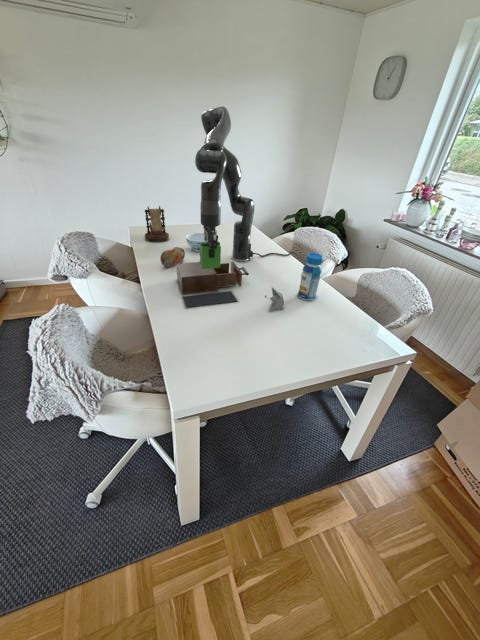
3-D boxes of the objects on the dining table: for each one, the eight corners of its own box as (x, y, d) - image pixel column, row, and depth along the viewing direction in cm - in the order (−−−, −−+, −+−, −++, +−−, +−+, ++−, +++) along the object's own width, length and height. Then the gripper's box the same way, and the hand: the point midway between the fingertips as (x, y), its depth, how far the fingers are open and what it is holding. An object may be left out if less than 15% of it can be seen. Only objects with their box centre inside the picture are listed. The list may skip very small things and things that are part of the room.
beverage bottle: (315, 302, 135) (325, 260, 124) (297, 299, 136) (304, 257, 125) (315, 293, 142) (324, 253, 131) (297, 291, 143) (305, 250, 132)
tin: (164, 269, 154) (162, 253, 150) (160, 267, 156) (158, 252, 151) (185, 261, 164) (184, 246, 160) (181, 259, 166) (180, 244, 161)
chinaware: (216, 249, 182) (216, 236, 177) (201, 256, 171) (201, 243, 167) (197, 243, 188) (197, 231, 184) (181, 250, 177) (180, 237, 173)
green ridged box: (217, 263, 126) (218, 240, 121) (220, 267, 123) (221, 244, 118) (200, 264, 124) (199, 241, 119) (202, 269, 121) (202, 245, 115)
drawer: (241, 273, 154) (242, 260, 150) (250, 285, 143) (251, 272, 139) (204, 276, 148) (204, 263, 144) (211, 289, 138) (211, 275, 134)
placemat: (230, 291, 138) (230, 291, 138) (236, 301, 131) (237, 300, 131) (183, 297, 132) (183, 296, 132) (186, 307, 125) (186, 306, 125)
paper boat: (286, 311, 125) (266, 306, 122) (280, 317, 130) (260, 312, 128) (287, 286, 130) (268, 281, 127) (281, 293, 135) (262, 288, 133)
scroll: (146, 243, 183) (142, 209, 171) (143, 235, 194) (139, 203, 183) (171, 241, 187) (168, 208, 176) (166, 234, 199) (164, 202, 188)
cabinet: (208, 277, 150) (208, 261, 145) (216, 291, 138) (216, 274, 134) (177, 280, 145) (176, 263, 140) (182, 294, 134) (181, 277, 129)
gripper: (225, 216, 107) (224, 261, 117) (215, 206, 118) (214, 248, 128) (205, 217, 105) (205, 263, 114) (196, 206, 116) (197, 249, 125)
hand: (210, 255), depth 121 cm, fingers closed on green ridged box, 4 cm apart
